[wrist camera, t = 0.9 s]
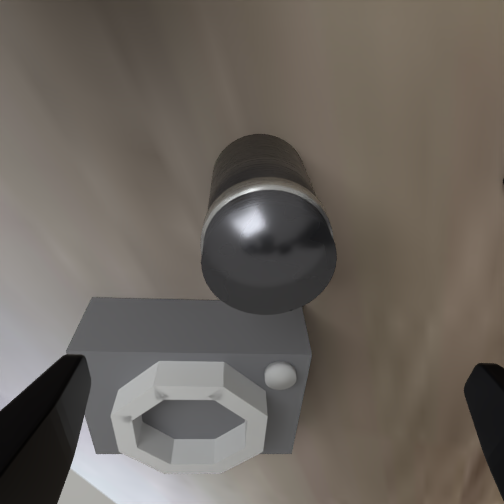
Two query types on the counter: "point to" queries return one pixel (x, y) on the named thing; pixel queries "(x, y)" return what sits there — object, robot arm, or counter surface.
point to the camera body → (191, 381)
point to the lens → (265, 229)
